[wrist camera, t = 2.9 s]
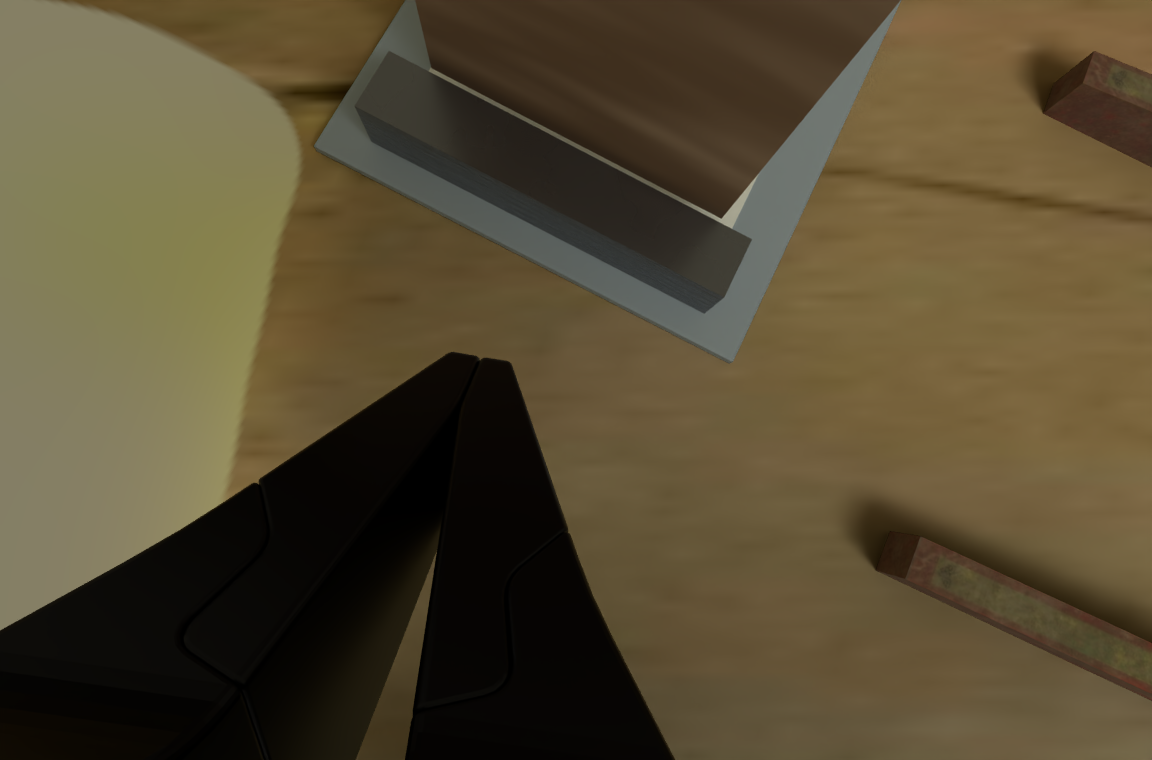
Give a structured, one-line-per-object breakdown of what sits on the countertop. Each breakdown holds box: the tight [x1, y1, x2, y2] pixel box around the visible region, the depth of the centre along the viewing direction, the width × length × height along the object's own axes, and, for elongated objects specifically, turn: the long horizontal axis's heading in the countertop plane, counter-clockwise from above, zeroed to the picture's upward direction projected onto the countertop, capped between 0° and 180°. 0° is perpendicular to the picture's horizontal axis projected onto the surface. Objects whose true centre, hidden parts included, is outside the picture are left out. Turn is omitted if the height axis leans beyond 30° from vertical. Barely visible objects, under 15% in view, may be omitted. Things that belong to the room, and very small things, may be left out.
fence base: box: [355, 51, 752, 314], centre depth 19 cm, size 2×12×2 cm, turn 63°
